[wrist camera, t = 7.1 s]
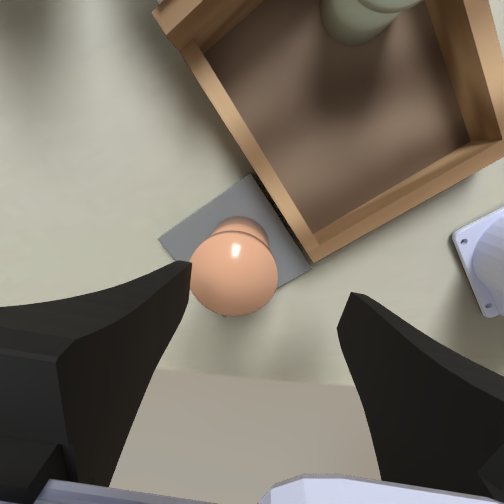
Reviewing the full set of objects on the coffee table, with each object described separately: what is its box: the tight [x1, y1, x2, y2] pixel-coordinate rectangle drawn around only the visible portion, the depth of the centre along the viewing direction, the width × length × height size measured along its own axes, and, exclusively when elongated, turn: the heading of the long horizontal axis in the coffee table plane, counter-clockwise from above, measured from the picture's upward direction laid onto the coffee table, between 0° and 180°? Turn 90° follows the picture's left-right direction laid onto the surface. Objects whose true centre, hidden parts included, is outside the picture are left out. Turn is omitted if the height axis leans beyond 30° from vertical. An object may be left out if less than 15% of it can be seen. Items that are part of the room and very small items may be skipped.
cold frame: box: [151, 0, 504, 263], centre depth 13 cm, size 24×14×5 cm, turn 34°
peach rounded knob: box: [189, 216, 278, 316], centre depth 17 cm, size 5×5×6 cm
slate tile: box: [158, 173, 312, 317], centre depth 21 cm, size 9×9×1 cm
